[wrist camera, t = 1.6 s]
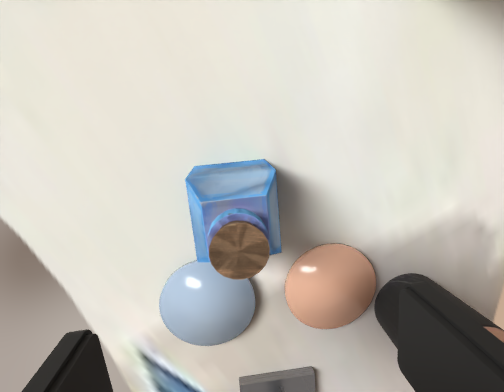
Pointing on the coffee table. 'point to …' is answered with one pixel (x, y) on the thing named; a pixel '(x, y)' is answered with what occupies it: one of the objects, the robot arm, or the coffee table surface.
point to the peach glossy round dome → (330, 286)
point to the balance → (280, 381)
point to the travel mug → (390, 306)
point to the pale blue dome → (206, 305)
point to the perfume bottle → (235, 216)
